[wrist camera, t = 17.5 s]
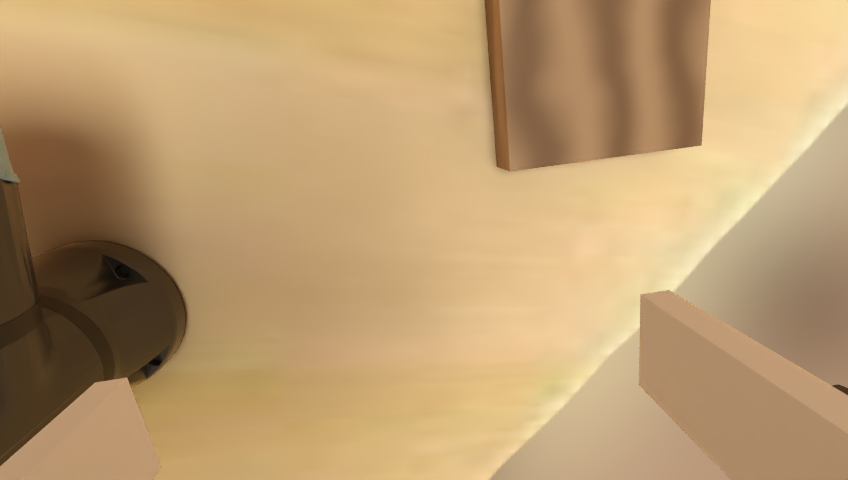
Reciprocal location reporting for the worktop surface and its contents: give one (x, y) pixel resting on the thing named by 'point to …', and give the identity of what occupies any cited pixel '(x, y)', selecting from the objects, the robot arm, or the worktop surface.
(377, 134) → the worktop surface
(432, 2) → the worktop surface
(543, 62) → the walnut board
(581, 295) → the worktop surface
